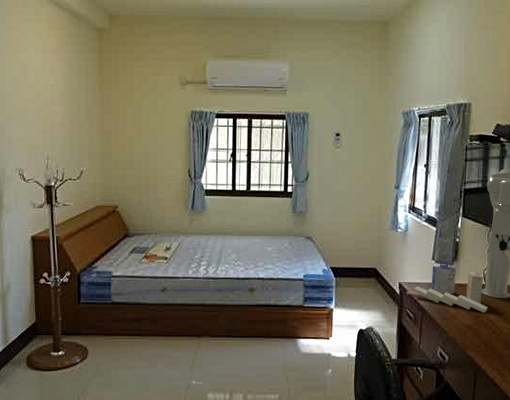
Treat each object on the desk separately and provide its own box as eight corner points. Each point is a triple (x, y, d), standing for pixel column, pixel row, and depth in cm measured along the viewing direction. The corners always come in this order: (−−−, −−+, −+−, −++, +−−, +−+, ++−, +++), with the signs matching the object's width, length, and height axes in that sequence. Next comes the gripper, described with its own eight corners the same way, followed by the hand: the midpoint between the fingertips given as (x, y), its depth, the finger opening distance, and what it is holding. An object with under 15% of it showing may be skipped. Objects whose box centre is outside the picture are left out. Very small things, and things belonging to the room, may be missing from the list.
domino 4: (471, 307, 230) (444, 295, 236) (472, 304, 229) (446, 292, 235) (468, 309, 226) (442, 297, 232) (470, 306, 226) (443, 294, 232)
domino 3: (454, 303, 234) (429, 291, 240) (455, 300, 233) (430, 288, 240) (451, 306, 230) (425, 293, 236) (452, 302, 230) (427, 290, 236)
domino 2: (441, 300, 237) (416, 289, 244) (442, 297, 237) (417, 286, 243) (438, 303, 234) (413, 291, 240) (439, 299, 233) (414, 288, 240)
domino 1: (434, 299, 241) (410, 293, 249) (434, 296, 240) (410, 290, 249) (430, 301, 237) (406, 295, 246) (430, 298, 237) (406, 291, 245)
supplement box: (480, 305, 233) (483, 277, 231) (469, 304, 234) (472, 276, 232) (476, 299, 241) (479, 272, 239) (465, 298, 242) (468, 271, 240)
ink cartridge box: (450, 290, 254) (453, 261, 252) (454, 294, 249) (457, 264, 247) (430, 289, 254) (432, 260, 252) (433, 293, 249) (436, 263, 247)
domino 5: (486, 310, 226) (459, 298, 233) (487, 307, 226) (460, 294, 232) (484, 312, 223) (456, 300, 229) (485, 309, 222) (458, 297, 229)
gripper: (486, 207, 225) (482, 248, 228) (524, 212, 216) (519, 255, 219) (491, 205, 231) (487, 245, 234) (528, 210, 222) (523, 251, 225)
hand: (502, 250), depth 226 cm, fingers closed
